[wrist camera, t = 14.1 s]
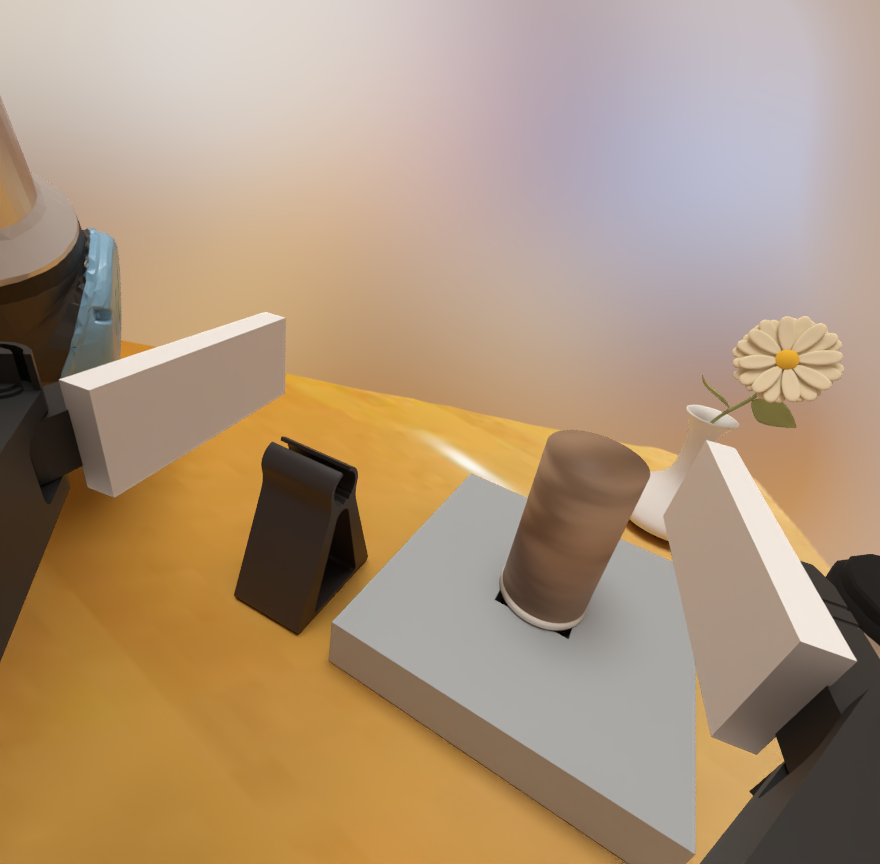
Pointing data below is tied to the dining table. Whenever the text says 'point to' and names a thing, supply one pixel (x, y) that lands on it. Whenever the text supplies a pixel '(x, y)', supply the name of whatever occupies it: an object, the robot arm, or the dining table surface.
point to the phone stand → (301, 535)
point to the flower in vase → (751, 399)
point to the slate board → (539, 675)
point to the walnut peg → (570, 527)
